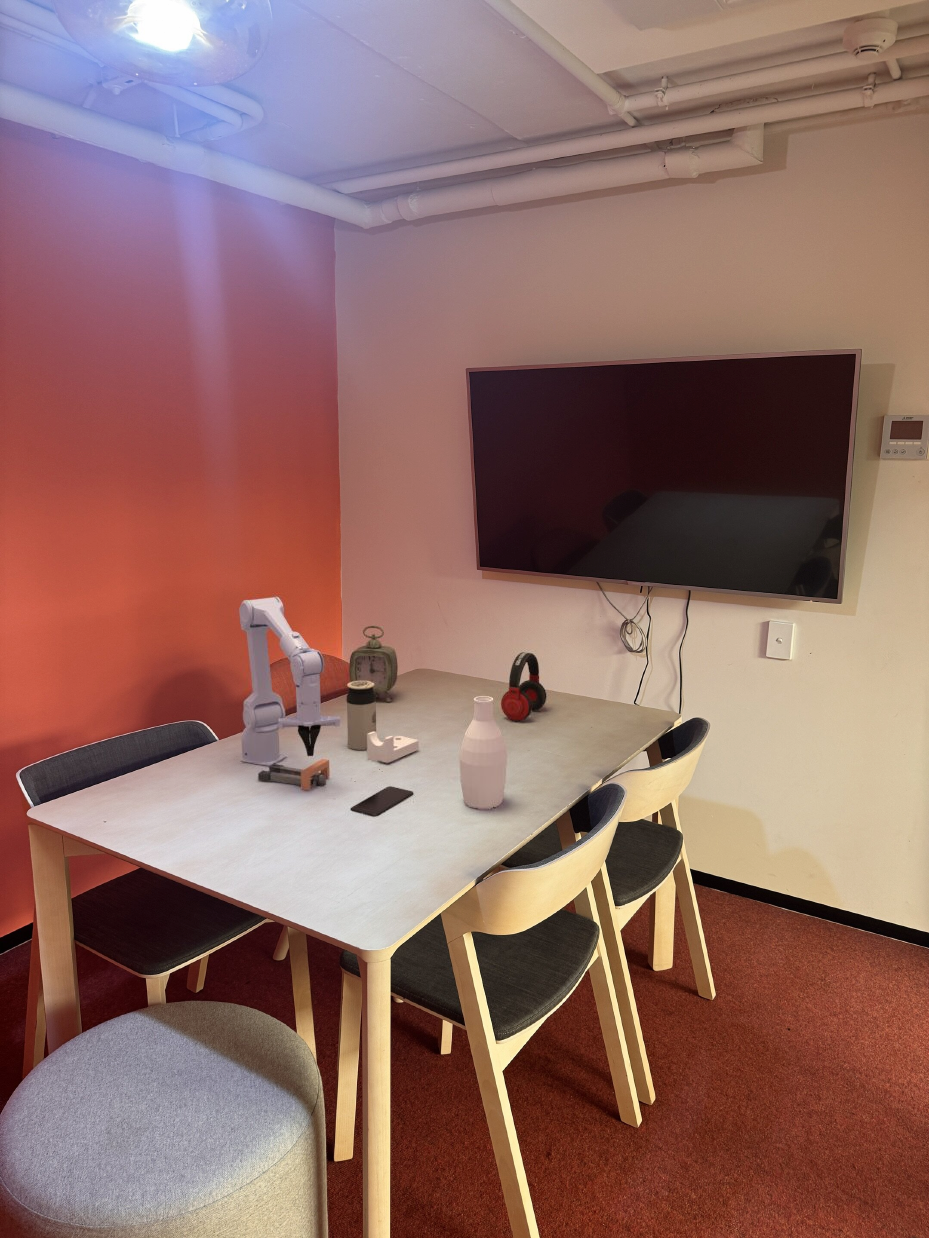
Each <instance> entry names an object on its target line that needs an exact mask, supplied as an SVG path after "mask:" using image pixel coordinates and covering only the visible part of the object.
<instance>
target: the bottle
mask: <svg viewBox="0 0 929 1238" xmlns="http://www.w3.org/2000/svg"><path fill="white" fill-rule="evenodd" d="M473 702H474V705H473V707H474V708H473V719H472V720H471V722H470V724H469V726H468V727H467V729H466V731H465V734H464V735H463V736H464V737H463V740H462V743H461V745H460V746H461V748H460V753H459V775H460V777H459V778H460V785H461V790H462V798H463V799H462V800H463V801H464V803H465V805H466V806H467V805H468V806H467V807H469V806H470V807H469V808H471V807H473V808H472V809H474V808H478V809H477V810H484V809H485V810H490V809H489V808H492V809H494V808H493V807H496V806H498V805H499V806H500V805H501V804H502V803H503V799H504V793H505V788H506V786H505V785H506V782H507V781H506V778H507V777H506V776H507V762H508V761H507V760H508V755H507V748H506V742H505V739H504V737H503V733H502V732H501V730H500V728H499V725H498V724H497V723H496V721H495V718H494V708H493V707H494V706H493V702H494V698H493V697H492V696H487V695H480V696H479V695H478V696H476V697H474V698H473ZM499 806H498V807H499ZM496 808H497V807H496Z"/></svg>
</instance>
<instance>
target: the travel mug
mask: <svg viewBox="0 0 929 1238" xmlns="http://www.w3.org/2000/svg"><path fill="white" fill-rule="evenodd" d="M346 685H347V687H348V693H347V694H346V715H347V716H346V719H347V723H346V724H347V745H348V746H347V747H348V748H350V749H351V750H355V751H367V734H368V733H370V732H373V731H374V732H376V733H377V706H376V705H377V704H376V703H377V702H376V699H377V698H376V695H375V693H374V691H373V687H374V683H373V682H370V681H353V682H348V683H347V684H346Z"/></svg>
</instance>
